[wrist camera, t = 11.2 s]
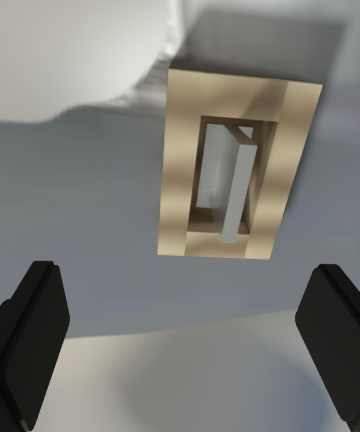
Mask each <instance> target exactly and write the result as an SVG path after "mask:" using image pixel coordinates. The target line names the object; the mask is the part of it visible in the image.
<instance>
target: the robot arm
mask: <svg viewBox="0 0 360 432" xmlns="http://www.w3.org/2000/svg"><path fill="white" fill-rule="evenodd" d="M69 322H70V315H69V310H68V306H67V301H66V297H65V292H64V287H63V283H62V278H61V273H60V269H59V266H58V265H54V263H53V261H34V262H33V263H32V264H31V266H30V268H29V269H28V271H27V273H26V274H25V276H24V278H23V279H22V281H21V283H20V284H19V286H18V288H17V289H16V291H15V293H14V294H13V296H12V297H11V299H7V300H5V301H4V302H3V303H2V304H1V306H0V432H27V431H32V430H33V428H34V426H35V423H36V421H37V418H38V415H39V412H40V409H41V406H42V403H43V400H44V397H45V394H46V391H47V388H48V386H49V383H50V380H51V377H52V374H53V371H54V368H55V365H56V362H57V359H58V356H59V353H60V350H61V347H62V344H63V341H64V338H65V336H66V333H67V330H68V327H69ZM295 322H296V326H297V328H298V330H299V332H300V334H301V336H302V338H303V340H304V342H305V345H306V347H307V349H308V351H309V353H310V355H311V357H312V359H313V362H314V364H315V366H316V368H317V370H318V372H319V374H320V376H321V378H322V380H323V383H324V385H325V387H326V389H327V391H328V393H329V395H330V397H331V399H332V402H333V404H334V406H335V408H336V410H337V412H338V414H339V416H340V418H342V420H343V421H346V422H347V424H348V427H349V429H350V431H351V432H360V292H359V290H358V289H357V288H356V287H355V285H354V284H353V283H352V282H351V280H350V279H349V278H348V277H347V275H346V274H345V273H344V272H343V270H342V269H341V268H340V267H339V266H338V265H336V264H320V265H318V267H317V268H315V269H314V270H313V272H312V275H311V277H310V280H309V282H308V285H307V287H306V290H305V292H304V295H303V297H302V300H301V302H300V305H299V307H298V310H297V312H296V315H295Z"/></svg>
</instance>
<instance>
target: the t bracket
mask: <svg viewBox="0 0 360 432" xmlns="http://www.w3.org/2000/svg"><path fill="white" fill-rule="evenodd" d="M252 132H253V127H252V126H248V125H237V124H225V123H214V122H206V128H205V135H204V142H203V150H202V157H201V165H200V172H199V180H198V187H197V195H196V202H195V204H196V207H203V208H210V209H211V213H212V216H213V220H214V223H215V226H216V230H217V233H218V236H219V240H220V243H233V244H235V241H236V237H237V233H238V228H239V224H240V220H241V215H242V211H243V207H244V202H245V198H246V193H247V189H248V185H249V180H250V176H251V172H252V167H253V163H254V159H255V154H256V150H257V145H256V144H255V143H254V142H253V141H252V140H251V136H252Z"/></svg>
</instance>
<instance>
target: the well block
mask: <svg viewBox="0 0 360 432" xmlns="http://www.w3.org/2000/svg"><path fill="white" fill-rule="evenodd" d="M322 86H323V85H320V84H315V83H309V82H304V81H295V80H285V79H275V78H265V77H255V76H245V75H235V74H225V73H215V72H204V71H194V70H184V69H174V68H168V84H167V100H166V117H165V133H164V150H163V166H162V182H161V199H160V215H159V231H158V255H179V256H203V257H226V258H249V259H269V258H270V255H271V252H272V248H273V245H274V242H275V239H276V235H277V232H278V229H279V226H280V222H281V219H282V216H283V213H284V209H285V206H286V203H287V200H288V197H289V193H290V190H291V187H292V184H293V180H294V177H295V174H296V171H297V167H298V164H299V161H300V158H301V154H302V151H303V148H304V145H305V141H306V138H307V135H308V132H309V128H310V125H311V122H312V119H313V115H314V112H315V109H316V106H317V102H318V99H319V96H320V93H321V89H322ZM206 122H214V123H225V124H237V125H248V126H252V127H253V132H252V136H251V140H252V141H253V142H254V143H255V144H256V145H257V150H256V154H255V159H254V163H253V167H252V172H251V176H250V180H249V185H248V189H247V193H246V198H245V202H244V207H243V211H242V215H241V220H240V224H239V228H238V233H237V237H236V241H235V244H233V243H220V240H219V236H218V233H217V230H216V226H215V223H214V220H213V216H212V213H211V209H210V208H203V207H196V204H195V202H196V195H197V187H198V180H199V172H200V165H201V157H202V150H203V142H204V135H205V128H206Z"/></svg>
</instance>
